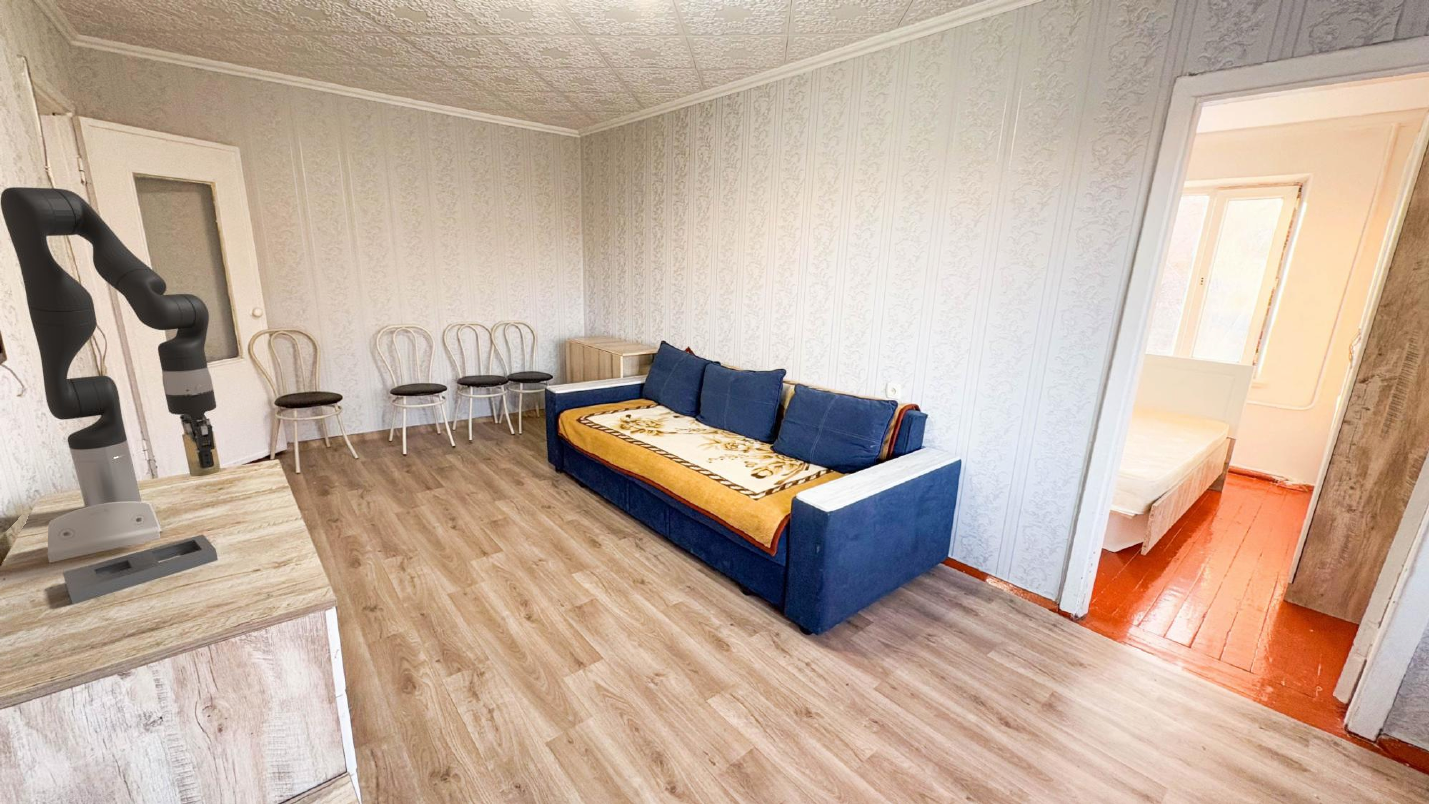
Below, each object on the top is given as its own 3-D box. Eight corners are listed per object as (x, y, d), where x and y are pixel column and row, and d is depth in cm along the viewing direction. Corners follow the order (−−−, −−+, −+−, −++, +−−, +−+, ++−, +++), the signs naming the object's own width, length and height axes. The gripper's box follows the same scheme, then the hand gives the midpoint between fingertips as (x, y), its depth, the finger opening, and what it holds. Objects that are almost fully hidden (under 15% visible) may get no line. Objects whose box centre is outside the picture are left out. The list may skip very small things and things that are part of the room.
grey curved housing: (46, 563, 110) (37, 514, 110) (52, 561, 114) (43, 514, 114) (162, 538, 122) (154, 494, 122) (164, 537, 125) (156, 494, 125)
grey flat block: (65, 584, 104) (62, 572, 103) (205, 544, 120) (202, 534, 119) (72, 604, 98) (69, 592, 98) (217, 560, 114) (215, 549, 113)
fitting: (187, 472, 120) (179, 433, 118) (217, 466, 124) (209, 428, 122) (193, 478, 117) (185, 438, 115) (223, 471, 121) (216, 433, 119)
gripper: (157, 386, 117) (172, 460, 121) (173, 398, 109) (189, 477, 113) (203, 381, 123) (217, 452, 127) (222, 392, 115) (235, 467, 119)
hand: (204, 463), depth 120 cm, fingers closed on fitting, 5 cm apart
